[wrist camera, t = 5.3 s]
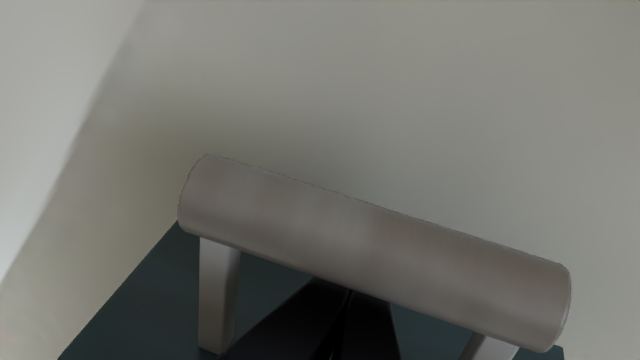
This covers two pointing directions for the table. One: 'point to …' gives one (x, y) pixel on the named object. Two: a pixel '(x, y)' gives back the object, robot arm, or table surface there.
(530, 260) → the drawer
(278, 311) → the robot arm
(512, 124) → the table surface
